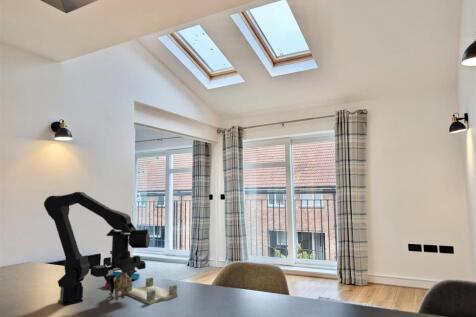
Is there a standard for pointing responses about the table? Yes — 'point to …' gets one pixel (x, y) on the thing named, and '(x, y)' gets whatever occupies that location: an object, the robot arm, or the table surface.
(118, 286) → the lion figurine
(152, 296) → the cradle jig
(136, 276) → the lever
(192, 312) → the table surface
